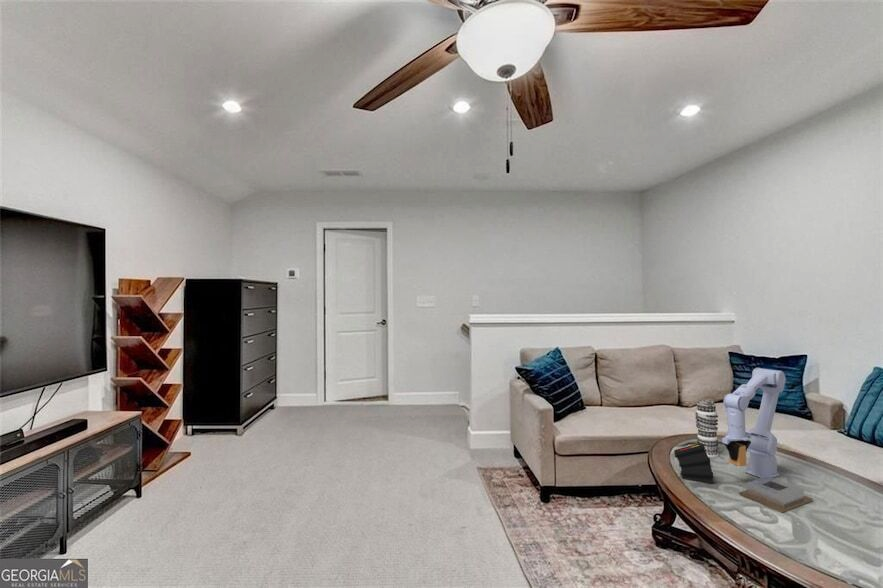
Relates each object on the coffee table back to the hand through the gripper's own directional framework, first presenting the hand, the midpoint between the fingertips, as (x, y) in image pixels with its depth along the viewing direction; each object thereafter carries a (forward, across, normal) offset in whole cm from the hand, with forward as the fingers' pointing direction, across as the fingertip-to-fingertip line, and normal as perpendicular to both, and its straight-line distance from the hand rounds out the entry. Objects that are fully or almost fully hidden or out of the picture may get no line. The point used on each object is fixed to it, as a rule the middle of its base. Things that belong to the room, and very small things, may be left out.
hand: (737, 458), depth 164 cm
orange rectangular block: (+2, 0, 0) cm, 2 cm away
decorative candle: (+10, +18, +25) cm, 32 cm away
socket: (+10, 0, -13) cm, 16 cm away
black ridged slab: (+10, -12, +10) cm, 19 cm away
